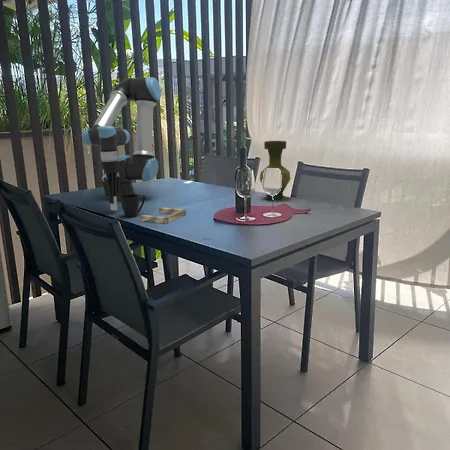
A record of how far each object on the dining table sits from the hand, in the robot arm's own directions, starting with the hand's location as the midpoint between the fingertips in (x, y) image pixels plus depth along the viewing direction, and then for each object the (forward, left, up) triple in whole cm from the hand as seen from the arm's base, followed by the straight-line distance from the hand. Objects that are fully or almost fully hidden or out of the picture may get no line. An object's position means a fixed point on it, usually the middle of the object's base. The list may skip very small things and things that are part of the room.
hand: (114, 209), depth 214 cm
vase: (+63, +55, -2) cm, 83 cm away
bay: (+27, 0, -2) cm, 27 cm away
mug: (+12, 0, -2) cm, 12 cm away
